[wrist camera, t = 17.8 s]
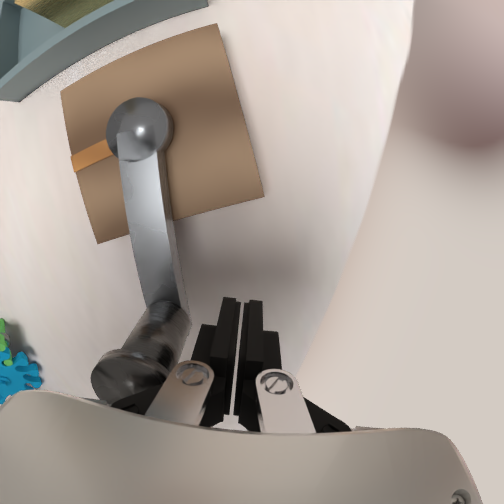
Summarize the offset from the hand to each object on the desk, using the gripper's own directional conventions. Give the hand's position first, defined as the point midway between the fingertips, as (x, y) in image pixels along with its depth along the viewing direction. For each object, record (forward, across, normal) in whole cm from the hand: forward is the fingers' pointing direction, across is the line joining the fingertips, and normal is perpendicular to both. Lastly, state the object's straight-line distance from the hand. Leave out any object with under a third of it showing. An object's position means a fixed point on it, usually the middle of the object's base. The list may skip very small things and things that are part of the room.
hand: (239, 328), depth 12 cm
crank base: (+6, +6, -8) cm, 12 cm away
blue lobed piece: (+6, +24, +13) cm, 28 cm away
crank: (+4, +5, -3) cm, 7 cm away
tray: (+6, +13, -19) cm, 24 cm away
